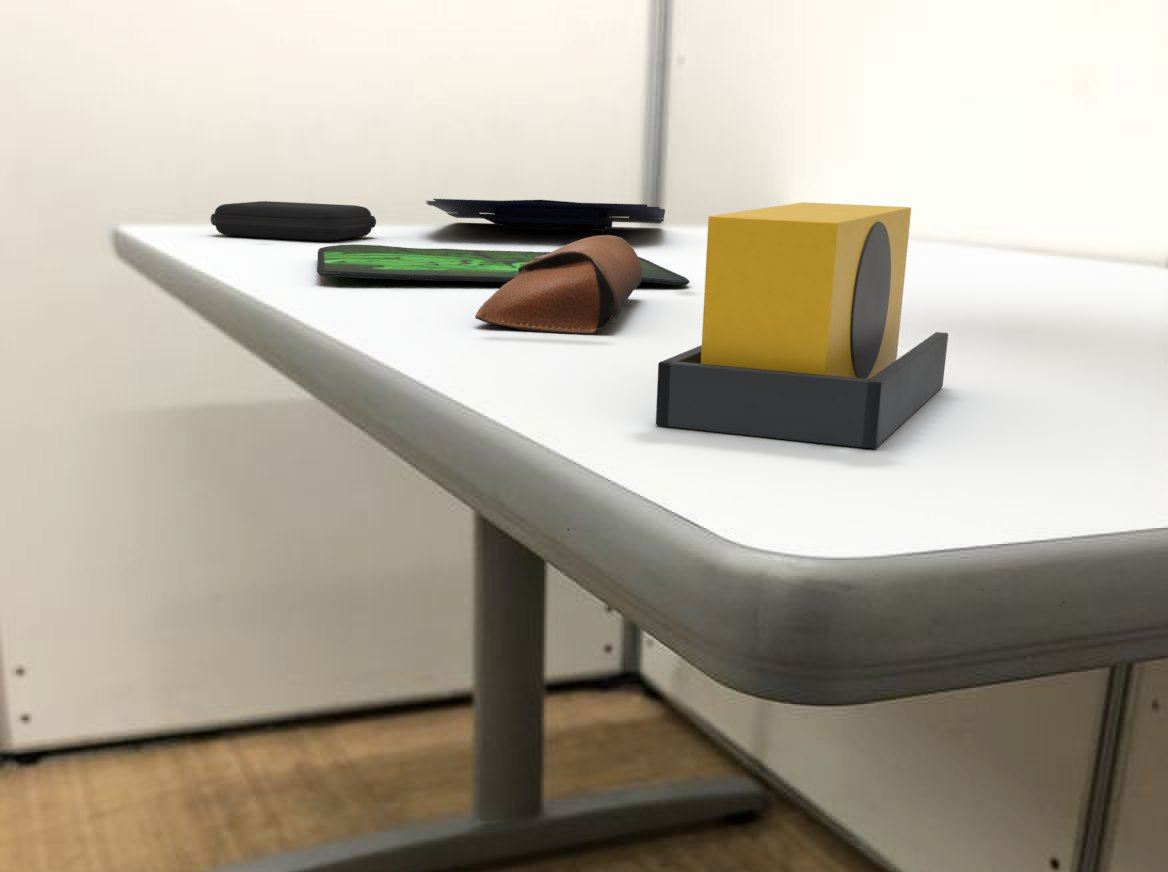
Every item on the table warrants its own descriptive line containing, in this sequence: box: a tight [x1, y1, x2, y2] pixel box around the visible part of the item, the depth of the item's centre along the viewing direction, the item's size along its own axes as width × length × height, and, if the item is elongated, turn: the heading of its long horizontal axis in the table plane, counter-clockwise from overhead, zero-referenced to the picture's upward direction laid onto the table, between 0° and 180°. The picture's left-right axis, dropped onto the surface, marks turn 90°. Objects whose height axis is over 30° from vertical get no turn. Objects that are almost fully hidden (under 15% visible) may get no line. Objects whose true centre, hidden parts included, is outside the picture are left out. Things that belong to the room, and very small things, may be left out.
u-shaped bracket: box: [655, 331, 949, 450], centre depth 60 cm, size 15×9×2 cm, turn 157°
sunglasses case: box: [474, 234, 642, 335], centre depth 87 cm, size 18×7×7 cm
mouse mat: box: [316, 244, 691, 286], centre depth 110 cm, size 27×22×1 cm
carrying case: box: [209, 200, 377, 242], centre depth 139 cm, size 11×3×15 cm
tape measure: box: [701, 202, 912, 379], centre depth 59 cm, size 13×5×8 cm, turn 155°
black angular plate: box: [425, 198, 666, 239], centre depth 149 cm, size 24×30×4 cm
